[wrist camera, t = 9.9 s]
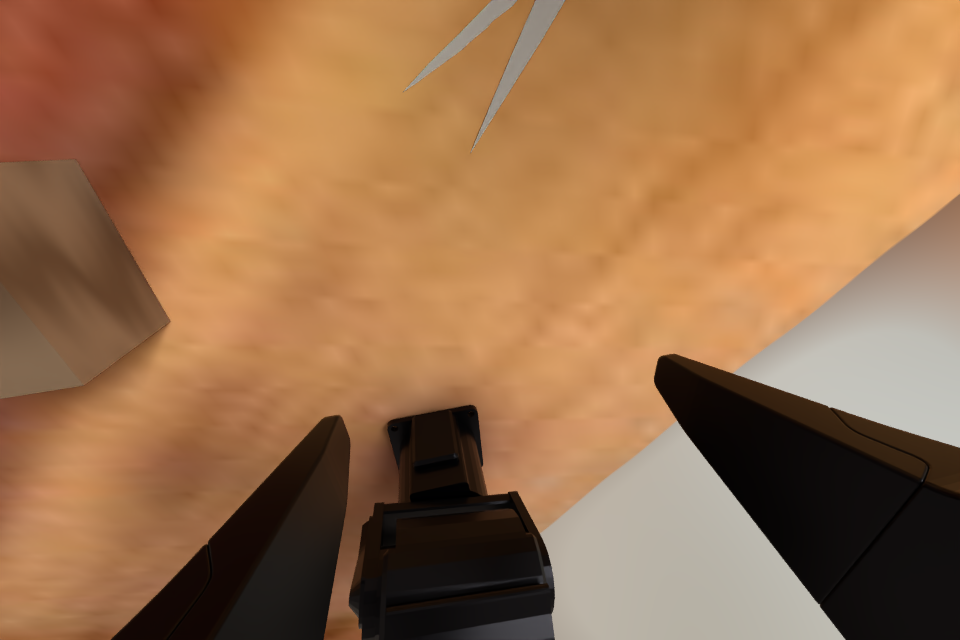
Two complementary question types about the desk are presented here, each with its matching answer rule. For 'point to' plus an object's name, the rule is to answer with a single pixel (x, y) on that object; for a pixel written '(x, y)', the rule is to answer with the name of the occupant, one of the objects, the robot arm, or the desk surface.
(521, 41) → the scissors
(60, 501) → the desk surface
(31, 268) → the wooden block frame
